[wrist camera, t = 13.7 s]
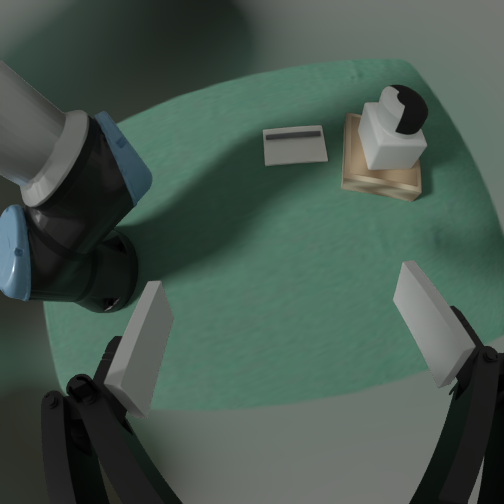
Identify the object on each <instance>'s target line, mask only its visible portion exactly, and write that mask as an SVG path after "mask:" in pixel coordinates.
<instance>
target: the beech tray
mask: <svg viewBox="0 0 504 504" xmlns="http://www.w3.org/2000/svg"><path fill="white" fill-rule="evenodd" d="M361 116H362V115H358V114H352V113H346V117H345V123H344V140H343V164H342V181H341V189H345V190H351V191H358V192H364V193H369V194H375V195H381V196H386V197H391V198H397V199H402V200H406V201H411V202H413V201H414V200H415V199H416V198H417V197H418V196H419V195H420V194H421V193H422V190H421V172H420V159H419V158H418V160H417V161H416V162H415V164H414V165H413V166H412V168H411V169H387V170H369V169H368V166H367V162H366V158H365V155H364V151H363V147H362V143H361V140H360V136H359V133H358V128H359V124H360V120H361Z"/></svg>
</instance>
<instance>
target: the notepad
mask: <svg viewBox="0 0 504 504" xmlns="http://www.w3.org/2000/svg"><path fill="white" fill-rule="evenodd" d="M263 141H264V156H265V166H274V165H285V164H297V163H312V162H328V158H327V152H326V146H325V141H324V136H323V130H322V125H317V126H300V127H287V128H276V129H266V130H263Z"/></svg>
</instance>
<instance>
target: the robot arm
mask: <svg viewBox="0 0 504 504" xmlns="http://www.w3.org/2000/svg"><path fill="white" fill-rule="evenodd" d="M0 175H2V176H4V177H5V178H7V179H9V180H11V181H13V182H15V183H16V184H18V185H20V188H21V192H22V197H23V201H24V203H25V204H26V205H25V207H23V208H22V207H21V206H20V205H11V206H9V207H7V208H6V209H5V211H4V212H3V214H2V216H1V218H0V289H1V291H2V292H3V293H4V294H5V295H7V296H9V297H11V298H17V299H22V300H23V301H27V300H34V301H55V302H74V303H76V304H78V305H80V306H82V307H84V308H86V309H88V310H90V311H92V312H96V313H111V312H115V311H117V310H119V309H120V308H122V307H123V306H124V305H125V304H126V303H127V301H128V300H129V299H130V297H131V295H132V293H133V291H134V288H135V285H136V281H137V274H138V263H137V257H136V253H135V250H134V248H133V246H132V244H131V242H130V241H129V240H128V238H127V237H125V236H124V235H123V234H121V233H119V232H117V231H114V230H112V229H113V228H114V227H115V226H116V225H117V224H118V223H119V222H120V221H121V220H122V219H123V218H124V217H125V216H126V215H127V214H128V213H129V212H130V211H131V210H132V209H133V208H134V207H135V206H136V205H137V202H138V201H139V200H140V199H141V198H142V197H143V195H144V194H145V193H146V192H147V191H148V190H149V189H150V187H151V184H152V174H151V172H150V170H149V169H148V167H147V166H146V165H145V163H144V162H143V161H142V159H141V158H140V157H139V155H138V154H137V152H136V151H135V150H134V148H133V147H132V146H131V144H130V143H129V142H128V140H127V139H126V138H125V136H124V135H123V134H122V132H121V131H120V130H119V128H118V127H117V126H116V124H115V123H114V122H113V120H112V119H111V118H110V117H109V115H108V114H107V113H106V112H101V113H99V114H96V115H95V116H94V119H92V118H91V117H90V116H89V115H88V114H87V113H85V112H84V111H82V110H77V111H72V112H68V113H62V112H61V111H60V110H59V109H57V108H56V107H55V106H54V105H53V104H52V103H50V102H49V101H48V100H47V99H46V98H44V97H43V96H42V95H41V94H40V93H39V92H37V91H36V90H35V89H34V88H33V87H31V86H30V85H29V84H28V83H27V82H25V81H24V80H23V79H22V78H21V77H20V76H18V75H17V74H16V73H15V72H14V71H13V70H12V69H10V68H9V67H8V66H7V65H6V64H5V63H3V62H2V61H1V60H0ZM393 301H394V303H395V304H396V306H397V308H398V310H399V311H400V313H401V315H402V317H403V319H404V320H405V322H406V324H407V326H408V328H409V330H410V331H411V333H412V335H413V337H414V339H415V341H416V343H417V345H418V347H419V349H420V351H421V353H422V355H423V357H424V359H425V361H426V363H427V365H428V367H429V369H430V371H431V373H432V375H433V378H434V380H435V382H436V384H437V387H438V388H441V387H443V386H446V385H449V384H451V382H452V381H453V379H454V378H455V377H456V378H457V380H458V382H457V383H456V384H455V386H454V387H453V388H452V390H451V391H450V393H449V395H451V394H452V392H453V391H454V393H453V397H452V400H451V404H450V408H449V411H448V414H447V417H446V421H445V424H444V427H443V430H442V432H441V435H440V438H439V441H438V443H437V446H436V448H435V451H434V453H433V456H432V458H431V461H430V463H429V465H428V467H427V470H426V472H425V474H424V476H423V478H422V480H421V482H420V484H419V486H418V488H417V490H416V492H415V494H414V496H413V497H412V499H411V501H410V503H409V504H468V499H469V497H470V495H471V492H472V490H473V487H474V485H475V482H476V479H477V476H478V473H479V470H480V467H481V464H482V461H483V457H484V465H483V473H482V480H481V486H480V491H479V497H478V501H477V504H504V353H497V351H496V350H495V349H493V348H492V347H490V346H484V345H483V344H482V342H481V341H480V339H479V337H478V336H477V334H476V333H475V331H474V330H473V328H472V327H471V326H470V324H469V323H468V321H467V320H466V318H465V317H464V315H463V314H462V313H461V311H459V310H458V309H457V308H456V307H454V306H450V307H449V305H448V304H447V303H446V301H445V300H444V298H443V297H442V296H441V294H440V293H439V292H438V290H437V289H436V288H435V286H434V285H433V284H432V283H431V281H430V280H429V279H428V277H427V276H426V275H425V274H424V272H423V271H422V270H421V269H420V267H419V266H418V265H417V264H416V263H415V261H414V260H413V261H404V262H403V263H402V267H401V271H400V275H399V279H398V283H397V287H396V291H395V295H394V298H393ZM173 320H174V318H173V315H172V312H171V309H170V306H169V303H168V301H167V298H166V295H165V292H164V289H163V286H162V282H161V281H148V283H147V285H146V287H145V289H144V291H143V293H142V295H141V297H140V299H139V301H138V304H137V306H136V308H135V310H134V312H133V314H132V317H131V319H130V321H129V323H128V326H127V328H126V330H125V332H124V335H123V336H115V337H114V338H113V339H112V340H111V341H110V342H109V343H108V345H107V347H106V350H105V354H103V357H102V360H101V361H100V363H99V366H98V368H97V371H96V373H95V375H94V378H93V380H92V379H91V378H90V377H89V376H88V375H86V374H78V375H75V376H74V377H72V378H71V379H70V381H69V382H68V384H67V387H66V392H67V394H68V395H69V396H65V397H64V396H63V395H62V394H61V393H60V392H58V391H50V392H48V393H47V394H46V395H45V396H44V398H43V399H42V405H41V428H42V448H43V449H42V450H43V461H44V469H45V478H46V485H47V490H48V496H49V501H50V504H110V503H109V500H108V496H107V493H106V489H105V486H104V482H103V478H102V474H101V470H100V465H99V461H98V458H99V460H100V462H101V465H102V467H103V469H104V471H105V473H106V475H107V477H108V478H109V480H110V482H111V484H112V486H113V488H114V490H115V491H116V493H117V495H118V497H119V498H120V500H121V502H122V503H123V504H182V502H181V501H180V499H179V498H178V497H177V496H176V494H175V493H174V492H173V490H172V489H171V488H170V486H169V485H168V484H167V482H166V481H165V479H164V478H163V477H162V475H161V474H160V472H159V471H158V470H157V468H156V467H155V465H154V464H153V462H152V460H151V459H150V457H149V456H148V454H147V453H146V451H145V449H144V448H143V446H142V444H141V443H140V441H139V440H138V438H137V436H136V434H135V433H134V431H133V429H132V427H131V425H130V424H129V422H128V420H127V419H126V418H125V416H126V412H127V411H128V412H129V413H130V415H131V416H133V417H139V418H146V419H147V417H148V413H149V409H150V405H151V401H152V397H153V393H154V389H155V385H156V381H157V377H158V373H159V369H160V365H161V362H162V358H163V354H164V351H165V347H166V344H167V340H168V337H169V333H170V330H171V326H172V323H173ZM484 454H485V455H484Z"/></svg>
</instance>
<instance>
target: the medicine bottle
mask: <svg viewBox="0 0 504 504" xmlns="http://www.w3.org/2000/svg"><path fill="white" fill-rule="evenodd" d="M427 116H428V108H427V105H426V103H425V102H424V100H423V99H422V97H421V96H420V95H419V94H418V93H417V92H415V91H414V90H412V89H410V88H408V87H406V86H402V85H391V86H387V87H386V88H384V89H383V91H382V93H381V96H380V100H379V102H366V103H365V104H364V108H363V112H362V116H361V120H360V124H359V128H358V133H359V136H360V140H361V143H362V147H363V151H364V155H365V158H366V162H367V166H368V169H369V170H387V169H411V168H412V166H413V165H414V164H415V162H416V161H417V160H418V158H419V157H420V155H421V154H422V153H423V151H424V150H425V148H426V147H427V143H426V140H425V138H424V135H423V132H422V130H421V127H422V125H423V124H424V122H425V120H426V118H427Z"/></svg>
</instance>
